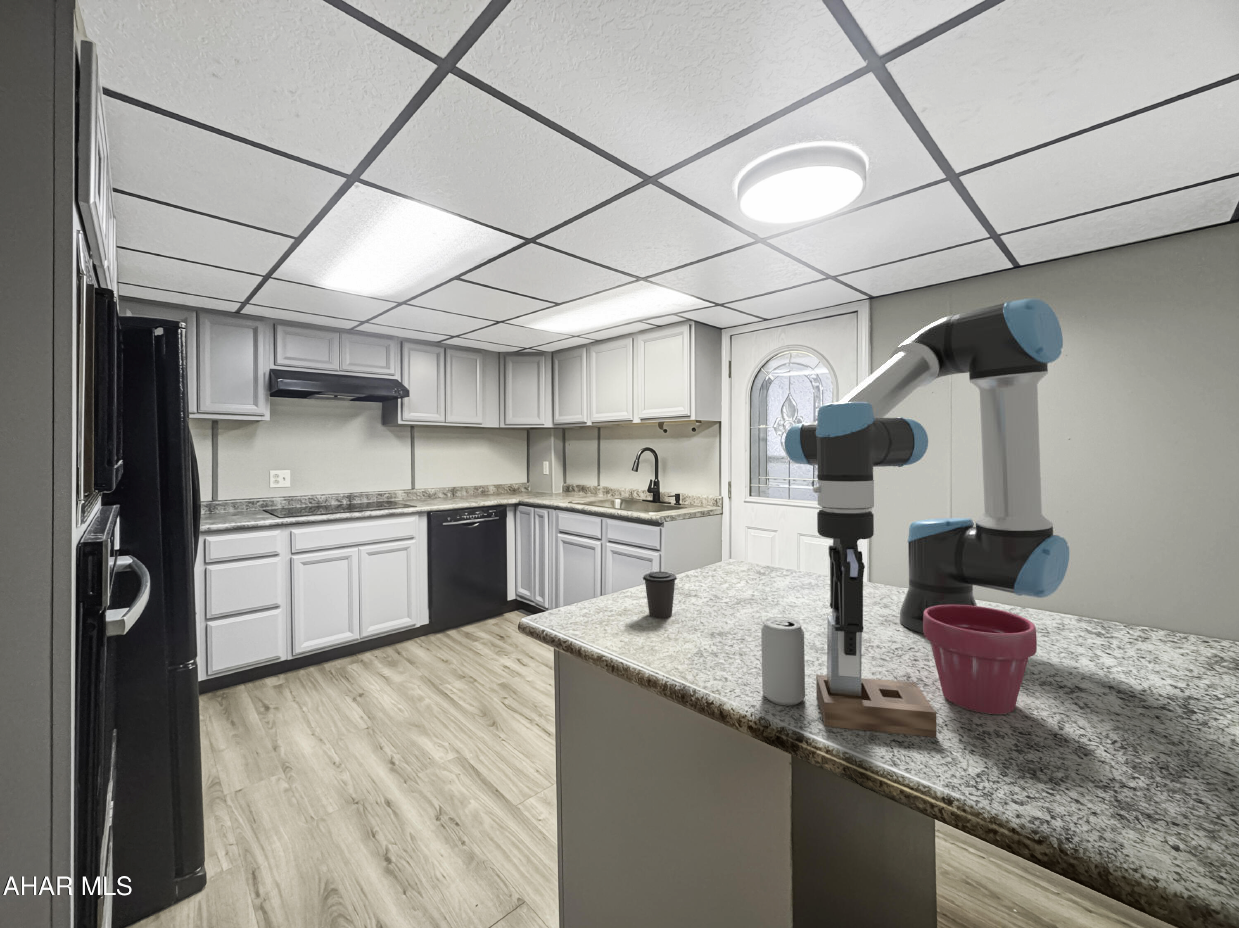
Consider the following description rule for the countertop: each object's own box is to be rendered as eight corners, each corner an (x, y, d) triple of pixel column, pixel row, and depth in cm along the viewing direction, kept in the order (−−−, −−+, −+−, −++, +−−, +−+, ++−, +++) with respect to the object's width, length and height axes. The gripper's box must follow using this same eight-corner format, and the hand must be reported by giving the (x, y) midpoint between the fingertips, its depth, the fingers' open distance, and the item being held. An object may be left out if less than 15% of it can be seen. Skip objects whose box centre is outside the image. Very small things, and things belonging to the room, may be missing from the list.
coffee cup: (644, 609, 126) (644, 568, 126) (678, 610, 125) (677, 569, 125) (641, 620, 118) (640, 577, 118) (677, 621, 117) (676, 577, 117)
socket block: (915, 704, 78) (915, 682, 78) (936, 737, 69) (936, 712, 69) (816, 695, 81) (816, 674, 81) (824, 726, 72) (824, 702, 72)
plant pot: (905, 679, 86) (905, 603, 86) (991, 678, 86) (991, 602, 85) (959, 725, 72) (959, 634, 71) (1062, 724, 71) (1063, 633, 71)
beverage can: (799, 712, 76) (798, 631, 76) (756, 701, 80) (755, 624, 79) (809, 694, 82) (808, 619, 81) (768, 685, 85) (767, 613, 85)
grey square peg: (855, 683, 77) (856, 609, 77) (861, 696, 73) (861, 618, 73) (827, 680, 78) (827, 607, 78) (831, 693, 74) (831, 616, 74)
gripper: (810, 503, 84) (811, 644, 85) (826, 516, 67) (827, 692, 68) (860, 503, 82) (860, 648, 83) (888, 517, 66) (889, 698, 66)
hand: (845, 667), depth 76 cm, fingers closed on grey square peg, 4 cm apart
